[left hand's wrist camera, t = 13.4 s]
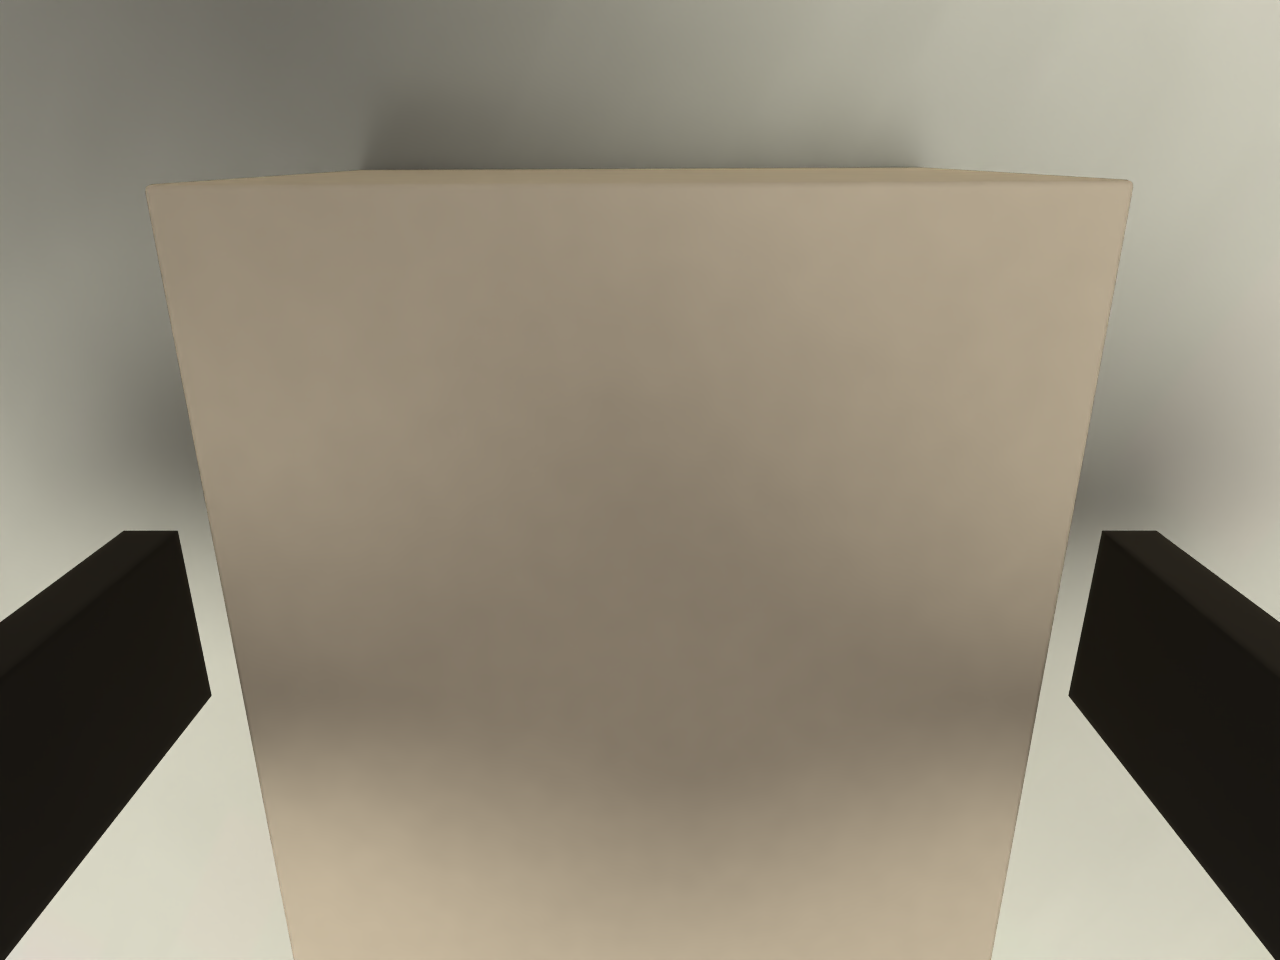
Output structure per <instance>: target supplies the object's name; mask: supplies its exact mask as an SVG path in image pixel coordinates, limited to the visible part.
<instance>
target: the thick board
mask: <svg viewBox="0 0 1280 960" xmlns="http://www.w3.org/2000/svg"><path fill="white" fill-rule="evenodd" d="M1132 190H1133V184H1132V182H1130V181H1128V180H1122V179H1106V178H1089V177H1072V176H1056V175H1039V174H1022V173H1006V172H989V171H973V170H956V169H939V168H923V167H893V168H682V169H471V170H353V171H339V172H324V173H310V174H295V175H280V176H266V177H251V178H237V179H222V180H207V181H193V182H178V183H164V184H151V185H149V186H147V187H146V191H145V193H146V198H147V203H148V208H149V213H150V219H151V224H152V229H153V234H154V239H155V244H156V250H157V255H158V260H159V265H160V270H161V275H162V281H163V286H164V291H165V296H166V301H167V306H168V312H169V317H170V322H171V327H172V332H173V337H174V343H175V348H176V353H177V358H178V363H179V368H180V374H181V379H182V384H183V389H184V394H185V399H186V405H187V410H188V415H189V420H190V425H191V430H192V436H193V441H194V446H195V451H196V456H197V461H198V467H199V472H200V477H201V482H202V487H203V492H204V498H205V503H206V508H207V513H208V518H209V523H210V529H211V534H212V539H213V544H214V549H215V554H216V560H217V565H218V570H219V575H220V580H221V585H222V591H223V596H224V601H225V606H226V611H227V616H228V622H229V627H230V632H231V637H232V642H233V647H234V653H235V658H236V663H237V668H238V673H239V678H240V684H241V689H242V694H243V699H244V704H245V709H246V715H247V720H248V725H249V730H250V735H251V740H252V746H253V751H254V756H255V761H256V766H257V771H258V776H259V782H260V787H261V792H262V797H263V802H264V807H265V813H266V818H267V823H268V828H269V833H270V838H271V844H272V849H273V854H274V859H275V864H276V869H277V875H278V880H279V885H280V890H281V895H282V900H283V906H284V911H285V916H286V921H287V926H288V931H289V937H290V942H291V947H292V952H293V957H294V960H991V956H992V951H993V945H994V940H995V934H996V929H997V924H998V918H999V913H1000V907H1001V902H1002V896H1003V891H1004V885H1005V880H1006V875H1007V869H1008V864H1009V858H1010V853H1011V847H1012V842H1013V837H1014V831H1015V826H1016V820H1017V815H1018V809H1019V804H1020V799H1021V793H1022V788H1023V782H1024V777H1025V771H1026V766H1027V760H1028V755H1029V750H1030V744H1031V739H1032V733H1033V728H1034V722H1035V717H1036V712H1037V706H1038V701H1039V695H1040V690H1041V684H1042V679H1043V674H1044V668H1045V663H1046V657H1047V652H1048V646H1049V641H1050V635H1051V630H1052V625H1053V619H1054V614H1055V608H1056V603H1057V597H1058V592H1059V587H1060V581H1061V576H1062V570H1063V565H1064V559H1065V554H1066V549H1067V543H1068V538H1069V532H1070V527H1071V521H1072V516H1073V510H1074V505H1075V500H1076V494H1077V489H1078V483H1079V478H1080V472H1081V467H1082V462H1083V456H1084V451H1085V445H1086V440H1087V434H1088V429H1089V424H1090V418H1091V413H1092V407H1093V402H1094V396H1095V391H1096V385H1097V380H1098V375H1099V369H1100V364H1101V358H1102V353H1103V347H1104V342H1105V337H1106V331H1107V326H1108V320H1109V315H1110V309H1111V304H1112V299H1113V293H1114V288H1115V282H1116V277H1117V271H1118V266H1119V260H1120V255H1121V250H1122V244H1123V239H1124V233H1125V228H1126V222H1127V217H1128V212H1129V206H1130V201H1131V195H1132Z"/></svg>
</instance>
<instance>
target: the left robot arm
mask: <svg viewBox="0 0 1280 960" xmlns="http://www.w3.org/2000/svg"><path fill="white" fill-rule="evenodd" d="M210 697H211V691H210V686H209V681H208V676H207V671H206V666H205V661H204V657H203V652H202V647H201V642H200V637H199V632H198V627H197V622H196V617H195V613H194V608H193V603H192V598H191V593H190V588H189V583H188V578H187V574H186V569H185V564H184V559H183V554H182V549H181V544H180V539H179V535H178V531H123V532H121V533H120V534H119V535H117V536H116V537H115V538H113V539H112V540H111V541H109V542H108V543H107V544H105V545H104V546H103V547H101V548H100V549H99V550H97V551H96V552H94V553H93V554H92V555H90V556H89V557H88V558H86V559H85V560H84V561H82V562H81V563H80V564H78V565H77V566H76V567H74V568H73V569H72V570H70V571H69V572H67V573H66V574H65V575H63V576H62V577H61V578H59V579H58V580H57V581H55V582H54V583H53V584H51V585H50V586H49V587H47V588H46V589H45V590H43V591H42V592H41V593H39V594H38V595H36V596H35V597H34V598H32V599H31V600H30V601H28V602H27V603H26V604H24V605H23V606H22V607H20V608H19V609H18V610H16V611H15V612H14V613H12V614H11V615H9V616H8V617H7V618H5V619H4V620H3V621H1V622H0V960H5V959H6V958H7V956H8V955H9V954H10V952H11V951H12V950H13V949H14V947H15V946H16V945H17V944H18V942H19V941H20V940H21V938H22V937H23V936H24V935H25V933H26V932H27V931H28V929H29V928H30V927H31V926H32V924H33V923H34V922H35V921H36V919H37V918H38V917H39V915H40V914H41V913H42V912H43V910H44V909H45V908H46V906H47V905H48V904H49V903H50V901H51V900H52V899H53V898H54V896H55V895H56V894H57V892H58V891H59V890H60V889H61V887H62V886H63V885H64V883H65V882H66V881H67V880H68V878H69V877H70V876H71V875H72V873H73V872H74V871H75V869H76V868H77V867H78V866H79V864H80V863H81V862H82V860H83V859H84V858H85V857H86V855H87V854H88V853H89V851H90V850H91V849H92V848H93V846H94V845H95V844H96V843H97V841H98V840H99V839H100V837H101V836H102V835H103V834H104V832H105V831H106V830H107V828H108V827H109V826H110V825H111V823H112V822H113V821H114V820H115V818H116V817H117V816H118V814H119V813H120V812H121V811H122V809H123V808H124V807H125V805H126V804H127V803H128V802H129V800H130V799H131V798H132V797H133V795H134V794H135V793H136V791H137V790H138V789H139V788H140V786H141V785H142V784H143V782H144V781H145V780H146V779H147V777H148V776H149V775H150V774H151V772H152V771H153V770H154V768H155V767H156V766H157V765H158V763H159V762H160V761H161V759H162V758H163V757H164V756H165V754H166V753H167V752H168V751H169V749H170V748H171V747H172V745H173V744H174V743H175V742H176V740H177V739H178V738H179V736H180V735H181V734H182V733H183V731H184V730H185V729H186V728H187V726H188V725H189V724H190V722H191V721H192V720H193V719H194V717H195V716H196V715H197V713H198V712H199V711H200V710H201V708H202V707H203V706H204V705H205V703H206V702H207V701H208V699H209V698H210ZM1069 697H1070V698H1071V699H1072V701H1073V702H1074V703H1075V705H1076V706H1077V707H1078V708H1079V710H1080V711H1081V712H1082V713H1083V715H1084V716H1085V717H1086V719H1087V720H1088V721H1089V722H1090V724H1091V725H1092V726H1093V728H1094V729H1095V730H1096V731H1097V733H1098V734H1099V735H1100V736H1101V738H1102V739H1103V740H1104V742H1105V743H1106V744H1107V745H1108V747H1109V748H1110V749H1111V751H1112V752H1113V753H1114V754H1115V756H1116V757H1117V758H1118V759H1119V761H1120V762H1121V763H1122V765H1123V766H1124V767H1125V768H1126V770H1127V771H1128V772H1129V774H1130V775H1131V776H1132V777H1133V779H1134V780H1135V781H1136V782H1137V784H1138V785H1139V786H1140V788H1141V789H1142V790H1143V791H1144V793H1145V794H1146V795H1147V797H1148V798H1149V799H1150V800H1151V802H1152V803H1153V804H1154V805H1155V807H1156V808H1157V809H1158V811H1159V812H1160V813H1161V814H1162V816H1163V817H1164V818H1165V820H1166V821H1167V822H1168V823H1169V825H1170V826H1171V827H1172V828H1173V830H1174V831H1175V832H1176V834H1177V835H1178V836H1179V837H1180V839H1181V840H1182V841H1183V843H1184V844H1185V845H1186V846H1187V848H1188V849H1189V850H1190V851H1191V853H1192V854H1193V855H1194V857H1195V858H1196V859H1197V860H1198V862H1199V863H1200V864H1201V866H1202V867H1203V868H1204V869H1205V871H1206V872H1207V873H1208V875H1209V876H1210V877H1211V878H1212V880H1213V881H1214V882H1215V883H1216V885H1217V886H1218V887H1219V889H1220V890H1221V891H1222V892H1223V894H1224V895H1225V896H1226V898H1227V899H1228V900H1229V901H1230V903H1231V904H1232V905H1233V906H1234V908H1235V909H1236V910H1237V912H1238V913H1239V914H1240V915H1241V917H1242V918H1243V919H1244V921H1245V922H1246V923H1247V924H1248V926H1249V927H1250V928H1251V929H1252V931H1253V932H1254V933H1255V935H1256V936H1257V937H1258V938H1259V940H1260V941H1261V942H1262V944H1263V945H1264V946H1265V947H1266V949H1267V950H1268V951H1269V952H1270V954H1271V955H1272V956H1273V958H1274V959H1275V960H1280V622H1279V621H1277V620H1276V619H1275V618H1273V617H1272V616H1271V615H1269V614H1268V613H1266V612H1265V611H1264V610H1262V609H1261V608H1260V607H1258V606H1257V605H1256V604H1254V603H1253V602H1252V601H1250V600H1249V599H1248V598H1246V597H1245V596H1244V595H1242V594H1241V593H1239V592H1238V591H1237V590H1235V589H1234V588H1233V587H1231V586H1230V585H1229V584H1227V583H1226V582H1225V581H1223V580H1222V579H1221V578H1219V577H1218V576H1217V575H1215V574H1214V573H1213V572H1211V571H1210V570H1208V569H1207V568H1206V567H1204V566H1203V565H1202V564H1200V563H1199V562H1198V561H1196V560H1195V559H1194V558H1192V557H1191V556H1190V555H1188V554H1187V553H1186V552H1184V551H1183V550H1181V549H1180V548H1179V547H1177V546H1176V545H1175V544H1173V543H1172V542H1171V541H1169V540H1168V539H1167V538H1165V537H1164V536H1163V535H1161V534H1160V533H1159V532H1157V531H1102V535H1101V539H1100V544H1099V549H1098V554H1097V559H1096V564H1095V569H1094V574H1093V578H1092V583H1091V588H1090V593H1089V598H1088V603H1087V608H1086V613H1085V617H1084V622H1083V627H1082V632H1081V637H1080V642H1079V647H1078V652H1077V657H1076V661H1075V666H1074V671H1073V676H1072V681H1071V686H1070V691H1069Z"/></svg>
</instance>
